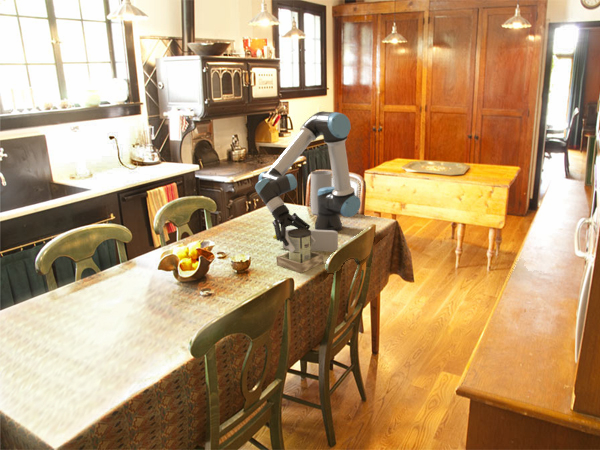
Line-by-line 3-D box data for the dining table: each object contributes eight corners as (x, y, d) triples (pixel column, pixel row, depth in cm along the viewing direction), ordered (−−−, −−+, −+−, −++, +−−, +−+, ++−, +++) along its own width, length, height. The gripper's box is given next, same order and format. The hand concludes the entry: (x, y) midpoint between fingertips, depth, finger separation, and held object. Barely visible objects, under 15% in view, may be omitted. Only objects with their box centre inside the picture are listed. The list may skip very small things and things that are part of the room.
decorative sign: (338, 249, 238) (338, 230, 235) (337, 252, 235) (337, 232, 232) (274, 245, 245) (273, 227, 242) (272, 248, 241) (271, 229, 238)
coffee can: (294, 255, 227) (294, 227, 223) (315, 258, 223) (314, 229, 219) (284, 263, 218) (283, 233, 214) (305, 266, 214) (305, 236, 210)
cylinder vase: (310, 215, 295) (309, 174, 287) (312, 209, 307) (312, 170, 299) (330, 215, 293) (330, 175, 285) (332, 210, 305) (332, 170, 297)
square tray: (298, 255, 231) (298, 247, 230) (323, 262, 221) (323, 254, 220) (276, 264, 220) (276, 256, 219) (301, 273, 211) (301, 264, 210)
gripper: (292, 207, 233) (316, 243, 228) (254, 219, 215) (280, 259, 210) (300, 198, 228) (325, 235, 223) (262, 210, 210) (288, 250, 205)
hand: (303, 247), depth 217 cm, fingers open, 13 cm apart
